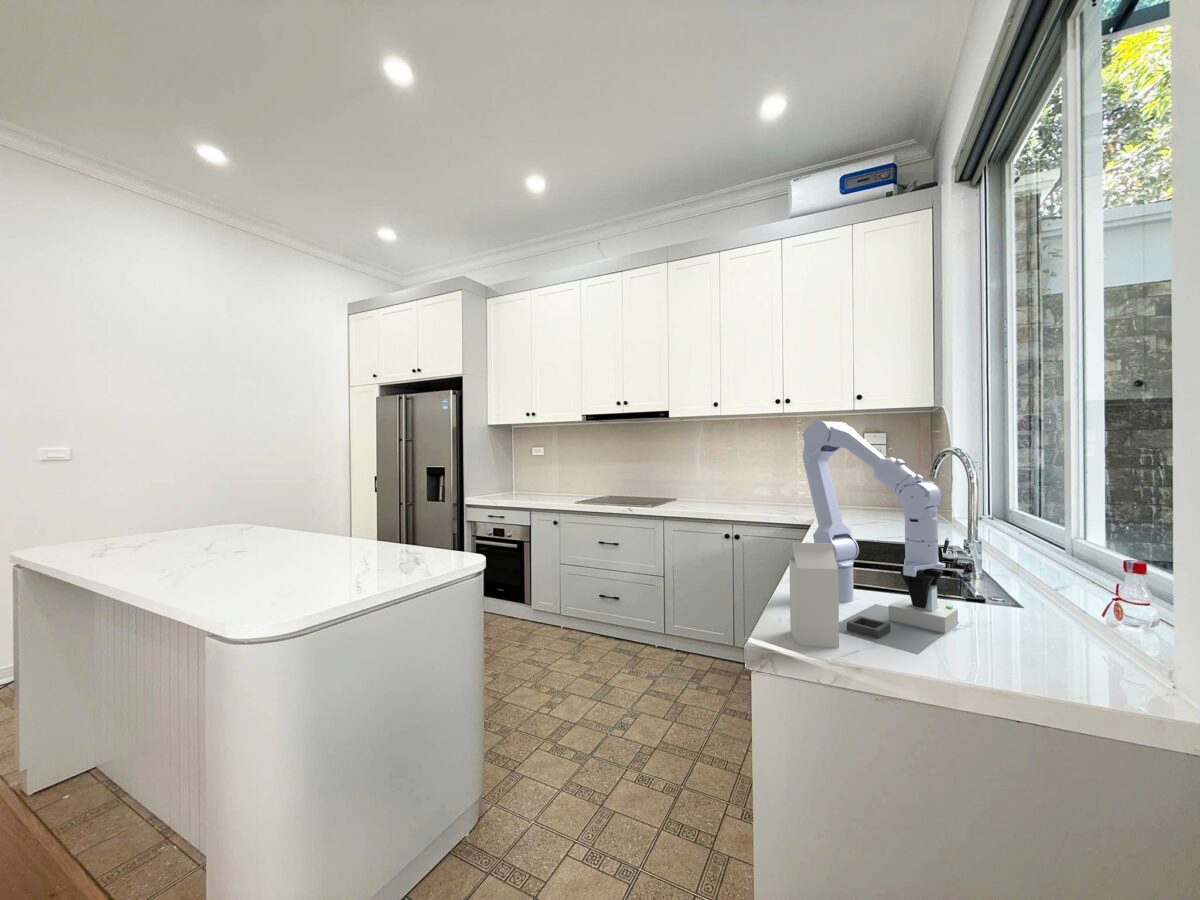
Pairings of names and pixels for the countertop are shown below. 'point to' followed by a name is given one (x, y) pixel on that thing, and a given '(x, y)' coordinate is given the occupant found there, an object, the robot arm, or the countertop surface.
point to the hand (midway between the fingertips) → (922, 605)
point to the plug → (931, 599)
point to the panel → (901, 625)
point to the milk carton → (814, 595)
